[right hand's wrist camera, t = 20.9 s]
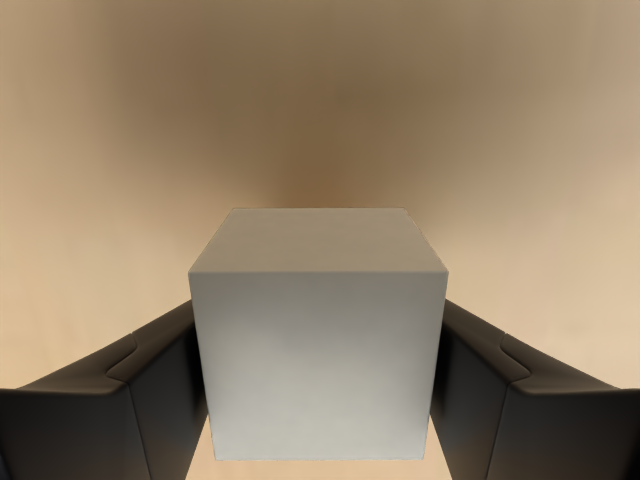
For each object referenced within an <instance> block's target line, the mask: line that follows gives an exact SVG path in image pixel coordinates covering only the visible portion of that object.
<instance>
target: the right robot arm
mask: <svg viewBox="0 0 640 480" xmlns="http://www.w3.org/2000/svg"><path fill="white" fill-rule="evenodd" d="M207 415H208V407H207V400H206V394H205V387H204V380H203V373H202V366H201V360H200V353H199V346H198V339H197V332H196V325H195V319H194V312H193V305H192V299H191V300H189V301H187V302H185V303H184V304H182V305H180V306H178V307H176V308H175V309H173V310H171V311H169V312H168V313H166V314H164V315H162V316H160V317H159V318H157V319H155V320H153V321H151V322H150V323H148V324H146V325H144V326H143V327H141V328H139V329H137V330H135V331H134V332H132V334H131V333H130V334H128V335H126V336H125V337H123V338H121V339H119V340H117V341H116V342H114V343H112V344H110V345H108V346H106V347H104V348H102V349H100V350H98V351H96V352H94V353H92V354H90V355H88V356H86V357H84V358H82V359H80V360H78V361H76V362H74V363H72V364H70V365H68V366H65V367H63V368H61V369H59V370H57V371H55V372H53V373H51V374H49V375H47V376H45V377H42V378H40V379H38V380H36V381H34V382H32V383H30V384H27V385H25V386H23V387H20V388H17V389H0V480H185V478H186V476H187V473H188V470H189V467H190V464H191V461H192V458H193V455H194V452H195V450H196V447H197V444H198V441H199V438H200V435H201V432H202V429H203V426H204V424H205V421H206V418H207ZM430 415H431V418H432V421H433V424H434V427H435V430H436V433H437V436H438V439H439V442H440V445H441V448H442V451H443V454H444V456H445V459H446V462H447V465H448V468H449V471H450V474H451V477H452V480H640V389H620V388H617V387H614V386H612V385H609V384H607V383H605V382H603V381H600V380H598V379H596V378H594V377H592V376H590V375H588V374H586V373H584V372H582V371H580V370H578V369H576V368H573V367H571V366H569V365H567V364H565V363H563V362H561V361H559V360H557V359H555V358H553V357H551V356H549V355H547V354H545V353H543V352H541V351H539V350H537V349H535V348H533V347H531V346H529V345H527V344H525V343H524V342H522V341H520V340H518V339H516V338H514V337H513V336H511V335H509V334H507V333H506V334H505V332H504V331H502V330H500V329H498V328H497V327H495V326H493V325H491V324H490V323H488V322H486V321H484V320H483V319H481V318H479V317H477V316H475V315H474V314H472V313H470V312H468V311H467V310H465V309H463V308H461V307H460V306H458V305H456V304H454V303H452V302H451V301H449V300H447V299H445V303H444V311H443V318H442V326H441V333H440V340H439V348H438V355H437V363H436V370H435V377H434V385H433V392H432V400H431V407H430Z"/></svg>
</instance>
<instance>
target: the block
mask: <svg viewBox="0 0 640 480" xmlns="http://www.w3.org/2000/svg"><path fill="white" fill-rule="evenodd" d="M448 274H449V272H448V270H447V269H446V267H445V266H444V264H443V263H442V261H441V260H440V258H439V257H438V256H437V254H436V253H435V251H434V250H433V248H432V247H431V246H430V244H429V243H428V241H427V240H426V238H425V237H424V235H423V234H422V233H421V231H420V230H419V228H418V227H417V225H416V224H415V223H414V221H413V220H412V218H411V217H410V215H409V214H408V212H407V211H406V210H405V208H234V209H233V210H232V211H231V212H230V214H229V215H228V217H227V218H226V219H225V221H224V222H223V224H222V225H221V226H220V228H219V229H218V231H217V232H216V234H215V235H214V236H213V238H212V239H211V241H210V242H209V243H208V245H207V246H206V248H205V249H204V250H203V252H202V253H201V255H200V256H199V257H198V259H197V260H196V262H195V263H194V264H193V266H192V267H191V269H190V270H189V272H188V278H189V284H190V291H191V298H192V305H193V312H194V319H195V325H196V332H197V339H198V346H199V353H200V360H201V366H202V373H203V380H204V387H205V394H206V400H207V407H208V414H209V421H210V428H211V435H212V441H213V448H214V455H215V460H423V458H424V451H425V444H426V437H427V429H428V422H429V414H430V407H431V400H432V392H433V385H434V377H435V370H436V363H437V355H438V348H439V340H440V333H441V326H442V318H443V311H444V303H445V296H446V288H447V281H448Z"/></svg>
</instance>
